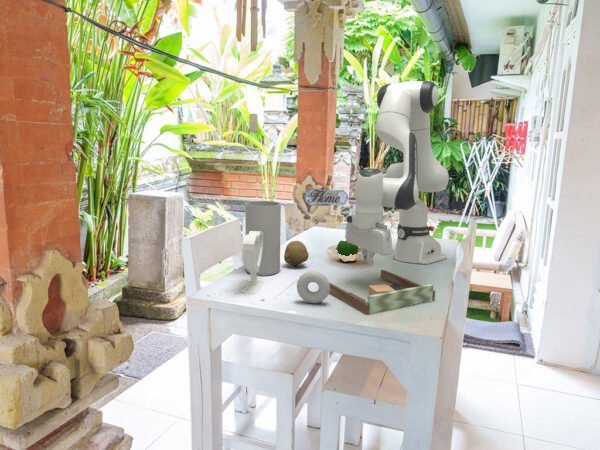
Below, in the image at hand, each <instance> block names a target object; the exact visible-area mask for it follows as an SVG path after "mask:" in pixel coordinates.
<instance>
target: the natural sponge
mask: <svg viewBox="0 0 600 450" xmlns="http://www.w3.org/2000/svg"><path fill="white" fill-rule="evenodd" d="M309 257H310V256H309V252H308V249H307V247H306V245H305V244H304V243H303V242H302V241H300V240H291V241H290V242H289V243H288V244H287V245H286V247H285V249H284V255H283V258H284V262H285V263H287V264H289V265H290V266H292V267H298V266H300V265H301V264H303V263H305V262H306V261H307V260H309Z"/></svg>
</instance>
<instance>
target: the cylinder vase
mask: <svg viewBox="0 0 600 450" xmlns="http://www.w3.org/2000/svg"><path fill="white" fill-rule="evenodd" d="M244 204H245V206H244V207H245V209H244V210H245V211H244V212H245V214H244V215H245V236H246V235H247V234H249V232H250V231H262V232H263V252H262V259H261V264H260V269H259V272H257V276H263V277H264V276H273V275H276V274H277V273H279V272H280V270H281V224H282V223H281V221H282V219H281V216H282V215H281V214H282V213H281V212H282V211H281V210H282V204H281V202H278V201H272V200H253V201H248V202H247V201H246V202H245V203H244ZM245 271H246V272H247V273H248V274H250V272H248V270H247V269H246V268H245Z"/></svg>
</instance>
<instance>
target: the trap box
mask: <svg viewBox="0 0 600 450" xmlns="http://www.w3.org/2000/svg"><path fill="white" fill-rule="evenodd" d="M380 279H382V280H384V281H386V282H388V283H391V284H390V285H389V284H388V286H390V287H391V288H393V289H394V290H395V291H391V292H386V293H380V294H375V295H370V296H368V295H367V300H366V299H365V298H364V299H363V298H362V297H360V296H358V295H357V294H355V293H353V292H348V291H347V290H345V289H342V288H341V287H339V286H338V285H335V284H334V283H331V282H330V281H329V284H330V291H329V294H330V295H332V296H333V297H335V298H336V299H338V300H339V301H341V302H344V303H345V304H347V305H349V306H351V307H353V308H354V309H356V310H358V311H360V312H362V313H363V314H364V315H371V314H372V315H373V314H376V313H380V312H381V313H382V312H385V311H390V310H395V309H400V308H403V307H409V305H410V306H414V305H413V304H415V305H418V304H417V303H419V304H423V303H422V302H424V303H427V302H426V301H429V302H431V301H430V300H434V301H436V300H435V299H436V290H434V284H431V283H430V284H429V283H428V284H424V285H421V284H419V283H416V282H415V281H412V280H410V279H406V278H405V277H402V276H400V275H397V274H395V273H392V272H390V271H387V270H385V269H381V270H380ZM329 294H328V295H329Z"/></svg>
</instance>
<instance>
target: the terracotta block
mask: <svg viewBox="0 0 600 450" xmlns="http://www.w3.org/2000/svg"><path fill="white" fill-rule="evenodd" d="M391 291H395V290H394V289H393V288H391V287H390V286H389V284H384V283H383V284H371V285H368V292H367V293H368V295H367V297H368V296H370V295H375V294H380V293H386V292H391Z"/></svg>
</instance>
